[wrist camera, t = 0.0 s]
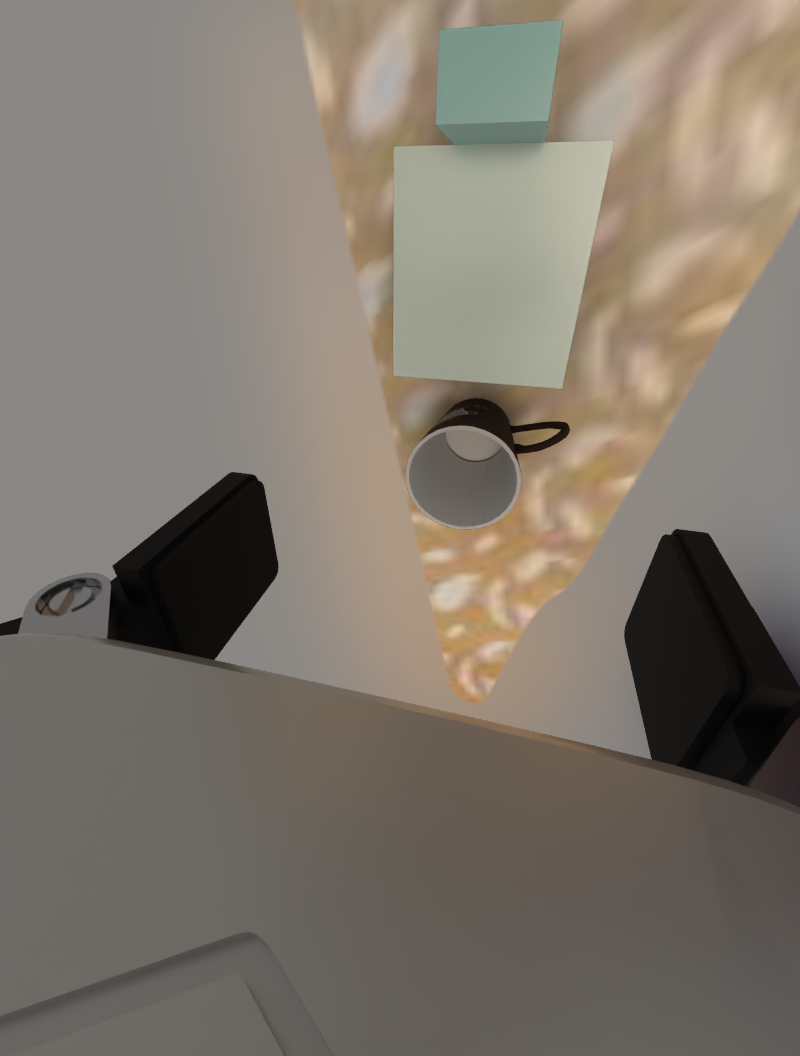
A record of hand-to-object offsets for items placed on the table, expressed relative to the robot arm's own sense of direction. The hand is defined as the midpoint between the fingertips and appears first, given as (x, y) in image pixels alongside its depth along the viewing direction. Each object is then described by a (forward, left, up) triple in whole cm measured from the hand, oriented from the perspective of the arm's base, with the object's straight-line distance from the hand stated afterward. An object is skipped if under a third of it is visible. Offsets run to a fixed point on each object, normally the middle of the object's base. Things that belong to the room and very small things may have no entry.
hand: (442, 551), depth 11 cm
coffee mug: (+9, 0, -31) cm, 33 cm away
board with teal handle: (-5, -2, -25) cm, 26 cm away
